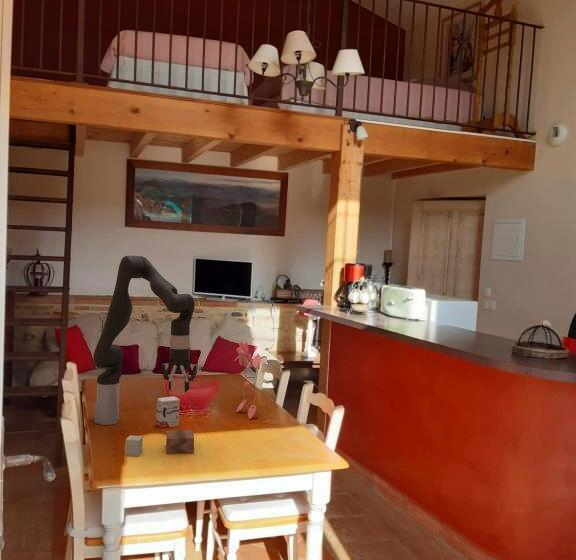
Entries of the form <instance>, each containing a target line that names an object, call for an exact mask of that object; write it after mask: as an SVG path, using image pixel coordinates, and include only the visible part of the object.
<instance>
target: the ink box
mask: <svg viewBox="0 0 576 560" xmlns="http://www.w3.org/2000/svg"><path fill="white" fill-rule="evenodd" d="M179 418H180V398H178V397H177V396H174V395H173V396H166V397H158V398H157V399H156V418H155V425H156V427H158V428H160V429H165V428H174V427H178V426H179V422H180V421H179V420H180V419H179Z"/></svg>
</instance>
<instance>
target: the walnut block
mask: <svg viewBox="0 0 576 560" xmlns="http://www.w3.org/2000/svg"><path fill="white" fill-rule="evenodd" d="M165 441H166V442H165V448H166V449H165V450H166V453H165V454H166V455H181V454H182V455H183V454H184V455H185V454H189V455H191V454H195V453H194V449H195V435H194V430H193V429H190V430H189V429H188V430H187V429H185V430H181V429H178V430H176V429H175V430H174V429H173V430H166V440H165Z"/></svg>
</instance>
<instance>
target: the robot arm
mask: <svg viewBox="0 0 576 560" xmlns="http://www.w3.org/2000/svg"><path fill="white" fill-rule="evenodd" d="M132 279H143V280H146V281H147V282H148V283H149V286H150V289H151V291H152V292H153V294H154V295H156V297H158V298H159V299H160V300H161V301H162V303H163V304H164V306H165V308H166V309H167V310H168V311H169V312H170V313H173V314H179V315H178V317H177V318H174V319H173V320H171V324H170V337H169V338H170V339H169V361H168V362H167V363H165V362H164V363H162V364H160V366H161V372H162V376H163V379H164V380H165V381H168V390H169V392H171V378H173V377H174V376H176V375H177V374H180V375H182V376H184V378H185V381H186V382H185V392H186V393H188V391H189V390H190V382H193V381H194V380H195V378H196V374H197V371H198V368H199V365H198V364H194V363H191V361H190V360H191V359H190V357H191V354H190V353H191V338H190V334H191V332H190V331H191V329H190V327H191V321H192V318H193V314H194V310H195V305H196V304H195V302H196V301H195V299H194V297H193V296H192V295H191V294H189V293H178V290H177V288H176V287H175V286H174V285H173V284H172V283H170V281H168V280H166V278H164V277H163V276H162V275H161V274H160V272H159V271H158V270H157V269H156V268H155V266H154V265H153V264H152V263H151V261H150V260H149V259H148V258H146V257H145V256H142V255H123V257H122V258H121V259H120V262H119V266H118V271H117V276H116V281H115V285H114V286H115V287H114V290H113V295H112V297H111V301H110V304H109V307H108V310H107V314H106V318H105V322H104V325H103V328H102V331H101V334H100V335H99V336H100V337H99V339H98V341H97V342H96V343H97V344H96V346H95V349H94V352H93V364H94V366H95V367H96V368H99V369H102V368H103V369H105V368H106V369H105V370H104V371H103V372H102V373H101V374H99V375H97V377H96V400H95V401H94V419H93V420H94V424H98V425H101V426H106V425H107V426H111V425H115V424H118V423H119V418H120V416H119V413H120V412H119V411H120V381H121V380H120V379H121V376H122V372H123V371H122V369H123V358H124V356H123V351H122V348H121V347H120V345H119V344H113V343H114V342H115V340H116V338H117V337H118V336H119V335H120V334H121V333H122V331H124V329H125V328H126V327H127V326H128V324H129V322H130V319H131V316H132V312H133V307H134V306H133V302H132V299H131V296H130V294H129V287H130V283H131V280H132ZM168 368H170V370H171V372H170V375H169V373H168ZM189 368H190V369H191V374H189V372H188V370H189ZM190 375H191V376H190Z"/></svg>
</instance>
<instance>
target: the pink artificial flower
mask: <svg viewBox="0 0 576 560" xmlns="http://www.w3.org/2000/svg"><path fill="white" fill-rule="evenodd" d="M238 345H239V346H238V347H237V348H236V353H237V354H238V355H237V357H236V358H235V359H234V360H233V362H235V361H237V360H238V361H239V362H238V363H239V366H241V367H242V366H243V367H244V368H245V369H244V370H243V371H244V378H245V382H244V386H243V396H246V395H245V394H246V393H245V390H246V389H245V388H249V389H251V390H252V391H253V392H254V393H255V394H254V399H253V403H252V405H250V407H248V405H247V400H246V399H243V401H241V403H240V404H239V405H238V407H237V408H236V411H235V412H236V413H238V412H239V411H240V410H242V409H244V406H245V409H246V410H247V415H248V418H249V420H251V419H252V418H253V417H254V416H255V415H256V417H257V419H258V418H259V415H258V412H257V406H256V404H255V403H256V402H255V401H256V397H257V391H256V390H254V389H253V388H252V387H251V382H250V381H248V379H247V374H246V373H247V370H249V369H251V368H252V367H253V368H255V369H258V370H260V369H261V368H260V363H261V359H262V357H261V355H260V354H259V353H257V354H256V355H255V356H254V358H253V359H252V356H251V355H252V354H250V352H249V351H250V350H249V343H248V341H245V342H244V341H243V340H240V341H239V343H238ZM227 419H228V420H229V418H227V417H226V420H227ZM231 421H233V422H237V423H239V421H237V420H233V419H231Z"/></svg>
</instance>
